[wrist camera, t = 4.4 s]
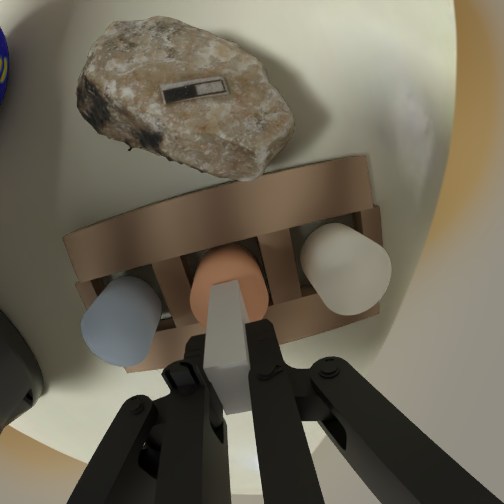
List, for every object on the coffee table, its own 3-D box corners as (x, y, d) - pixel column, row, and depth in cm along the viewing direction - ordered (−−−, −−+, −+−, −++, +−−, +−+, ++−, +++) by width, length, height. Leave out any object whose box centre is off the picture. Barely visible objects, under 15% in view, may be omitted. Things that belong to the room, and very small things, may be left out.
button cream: (305, 293, 19) (324, 324, 15) (294, 231, 17) (314, 252, 13) (363, 276, 19) (391, 302, 15) (357, 216, 17) (389, 231, 13)
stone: (257, 190, 18) (279, 198, 11) (90, 139, 15) (30, 127, 9) (294, 92, 16) (333, 52, 9) (129, 47, 14) (92, -1, 7)
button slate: (119, 335, 18) (102, 369, 15) (94, 283, 17) (69, 311, 13) (171, 325, 18) (160, 362, 15) (148, 269, 17) (129, 298, 13)
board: (126, 362, 21) (122, 373, 20) (67, 233, 17) (57, 239, 16) (376, 302, 21) (384, 311, 20) (361, 155, 17) (371, 155, 16)
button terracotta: (206, 308, 20) (203, 340, 16) (188, 252, 18) (179, 276, 15) (265, 293, 20) (275, 324, 16) (252, 236, 18) (259, 256, 15)
